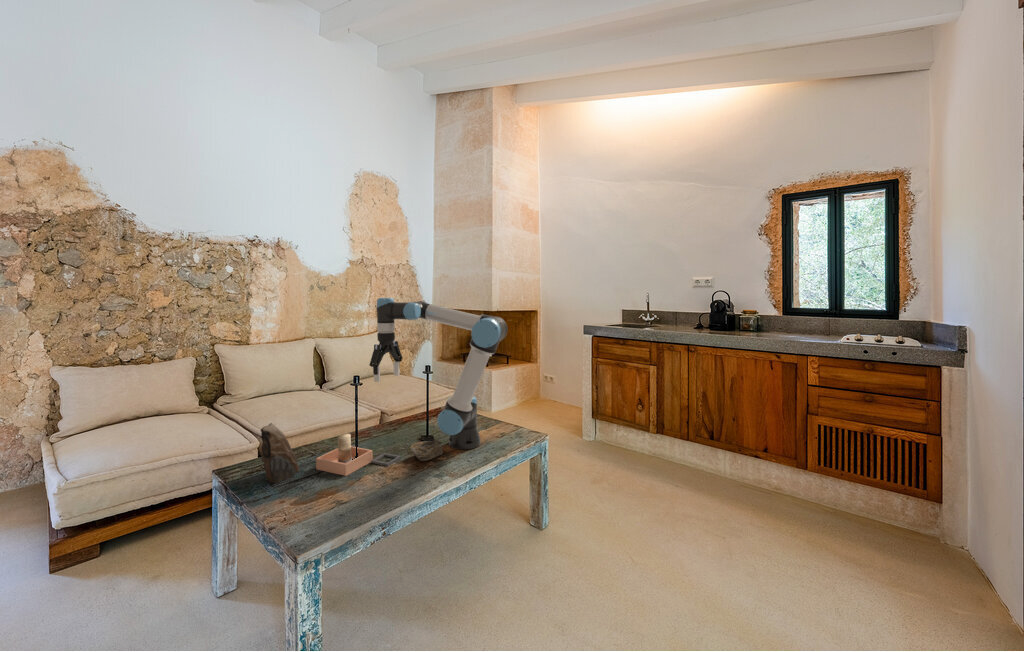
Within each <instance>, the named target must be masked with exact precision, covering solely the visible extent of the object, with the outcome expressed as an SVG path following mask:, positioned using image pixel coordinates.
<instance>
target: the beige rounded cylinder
mask: <svg viewBox="0 0 1024 652" xmlns="http://www.w3.org/2000/svg"><path fill="white" fill-rule="evenodd" d="M351 436H352V435H351V433H340V434H339V435H337V448H338V457H339V459H338V462H341V463H345V464H346V463H348V462H350V461H351V460H352V457H351V446H352V440H351V439H352V437H351Z"/></svg>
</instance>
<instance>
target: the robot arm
mask: <svg viewBox="0 0 1024 652" xmlns="http://www.w3.org/2000/svg"><path fill="white" fill-rule="evenodd" d="M418 319H421V320H427V321H431V322H436V323H439V324H443V325H447V326H452V327H454V328H455V327H456V328H459V329H464V330H467V331H471V332H470V333H471V339H470V341H469V345H470V351H469V353H468V356H467V358H466V361H465V363H464V366H463V368H462V371H461V373H460V376H459V379H458V381H457V384H456V387H455V389H454V391H453V394H452V396H451V397H448V398H447V400H446V403H445V405H444V408H443V410H442V411H440V412H439V414H438V416H437V420H436V421H437V423H436V424H437V426H438V429H440V431H441V433H444V434H446V435H448V436H449V438H448V445H449V447H450V448H452V449H456V450H471V449H475V448H478V447H479V446H480V445H481V444H482V442H481V441H482V440H481V439H482V438H481V435H480V433H479V429H478V402H477V401H478V399H477V397H475V394H476V391H477V389H478V386H479V384H480V381H481V379H482V376H483V374H484V371H485V369H486V368H487V367H486V366H487V364H488V361H489V359H490V357H491V355H495V354H496V351H497V349H498V346H499V343H500V342H502V341H503V340H504V339H505V338H506V337H507V334H508V325H507V323H506V321H505V320H504V319H503V318H502V317H499V316H496V315H495V316H493V315H487V314H480V315H478V314H474V313H471V312H470V313H469V312H465V311H461V310H457V309H452V308H449V307H445V306H439V305H435V304H431V303H428V302H426V301H423V300H419V301H411V302H410V301H409V302H395V299H394V297H379V298H377V299H376V320H377V323H376V324H377V325H376V327H377V328H376V329H377V330H376V331H377V342H379V343H378V344H374V345H373V351H372V354H371V358H370V362H369V364H368V365H369V367H371V368H372V373H373V382H377V383H381V367H380V364H381V363H382V360H383V358H384V355H386V354H388V353H389V354H390V356H391V358H392V359H393V360H394V361H393V362H392V363H393V376H397V377H399V376H400V365H401V364H400V362H402V360H403V359H404V358H403V355H402V353H401V350H400V347H399V341H397V340H396V335H395V334H396V333H395V331H396V328H395V327H396V325H395V324H396V323H395V320H404V321H405V320H408V321H412V320H415V321H417V320H418Z"/></svg>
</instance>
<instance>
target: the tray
mask: <svg viewBox="0 0 1024 652" xmlns="http://www.w3.org/2000/svg"><path fill="white" fill-rule="evenodd" d="M356 447H357V446H352V445H351V457H352V459H353V460H351V461H350V462H348V463H346V464H345V463H341V462H338V459H339V457H338V447H337V448H335V449H333V450H331V451H329V452H326V453H325V454H322V455H320V456H318V457H316V458H315V466H316V467H315V469H316V470H318V471H323V472H327V473H331V474H336V475H341V476H345V477H347V476H348V475H349V476H350V475H351V474H352V473H354V472H356V471H357V470H359V469H361V468H363V467H364V466H366V465H368V464H370V463H371V460H373V459H374V455H373V454H374V453H373V452H374V451H373V449H369V448H361V447H357V453H358V457H357V458H355V456H356ZM354 458H355V459H354Z"/></svg>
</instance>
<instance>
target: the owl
mask: <svg viewBox="0 0 1024 652" xmlns="http://www.w3.org/2000/svg"><path fill="white" fill-rule="evenodd" d="M259 431H260V432H261V433H260V434H261V435H260V439H261V441H262V444H261V446H260V447H261V457H260V459H261V461H262V463H263V467H264V471H265V474H264V477H265V478H266V479H265V482H267V483H271V484H278V483H281V482H283V481H284V480H287V479H289V478H291V477H293V476H296V475H297V474H298V473H300V472H301V471H300V465H298V462H297V457H296V453H294V451H293V450H292V449H293V448H291V444H290V442H289V440H288V439H287V436H286V435H285V434H284V432H283V431H282V430H281V429H280V428H278V427H277V426H276V425H275V424H273V423H272V422H270V423H269V424H268V425H265V426H263V427H262V428H261V429H260V430H259Z"/></svg>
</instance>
